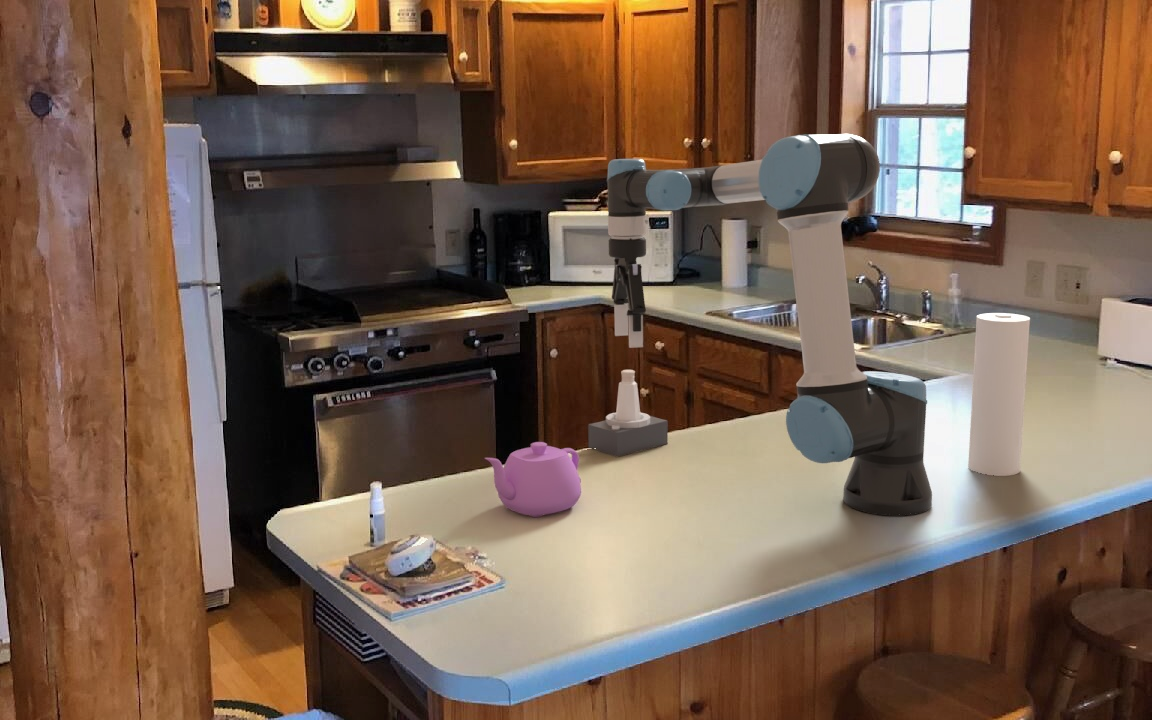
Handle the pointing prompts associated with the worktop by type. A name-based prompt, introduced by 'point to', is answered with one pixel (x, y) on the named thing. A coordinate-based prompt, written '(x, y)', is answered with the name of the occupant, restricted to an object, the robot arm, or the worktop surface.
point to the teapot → (538, 480)
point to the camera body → (627, 434)
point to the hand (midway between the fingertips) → (628, 341)
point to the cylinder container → (998, 393)
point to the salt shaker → (628, 398)
